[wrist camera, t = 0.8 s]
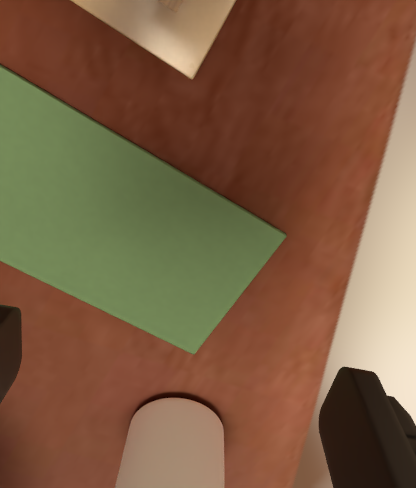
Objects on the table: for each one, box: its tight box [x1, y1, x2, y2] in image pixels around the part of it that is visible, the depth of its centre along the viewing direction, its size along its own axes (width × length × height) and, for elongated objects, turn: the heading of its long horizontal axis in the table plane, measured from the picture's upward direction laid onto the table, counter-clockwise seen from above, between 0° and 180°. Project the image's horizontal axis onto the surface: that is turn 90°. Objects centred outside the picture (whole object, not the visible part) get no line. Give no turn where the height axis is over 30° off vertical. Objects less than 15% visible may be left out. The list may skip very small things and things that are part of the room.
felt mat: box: [0, 64, 287, 354], centre depth 26 cm, size 20×12×1 cm, turn 59°
